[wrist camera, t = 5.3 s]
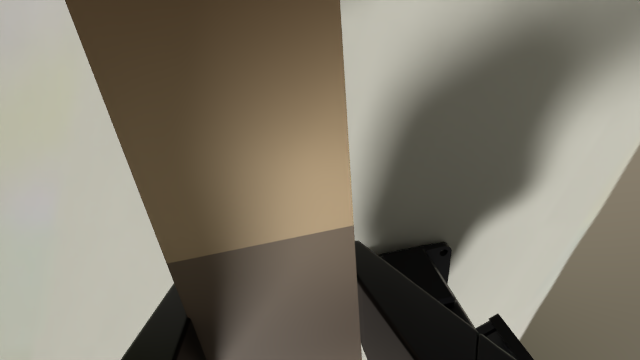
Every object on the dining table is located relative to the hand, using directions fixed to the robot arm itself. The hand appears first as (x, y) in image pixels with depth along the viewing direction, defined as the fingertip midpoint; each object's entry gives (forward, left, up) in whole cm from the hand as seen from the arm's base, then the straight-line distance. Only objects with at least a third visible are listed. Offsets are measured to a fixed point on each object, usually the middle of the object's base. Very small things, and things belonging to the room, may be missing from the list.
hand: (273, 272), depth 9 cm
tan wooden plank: (+3, 0, -2) cm, 3 cm away
